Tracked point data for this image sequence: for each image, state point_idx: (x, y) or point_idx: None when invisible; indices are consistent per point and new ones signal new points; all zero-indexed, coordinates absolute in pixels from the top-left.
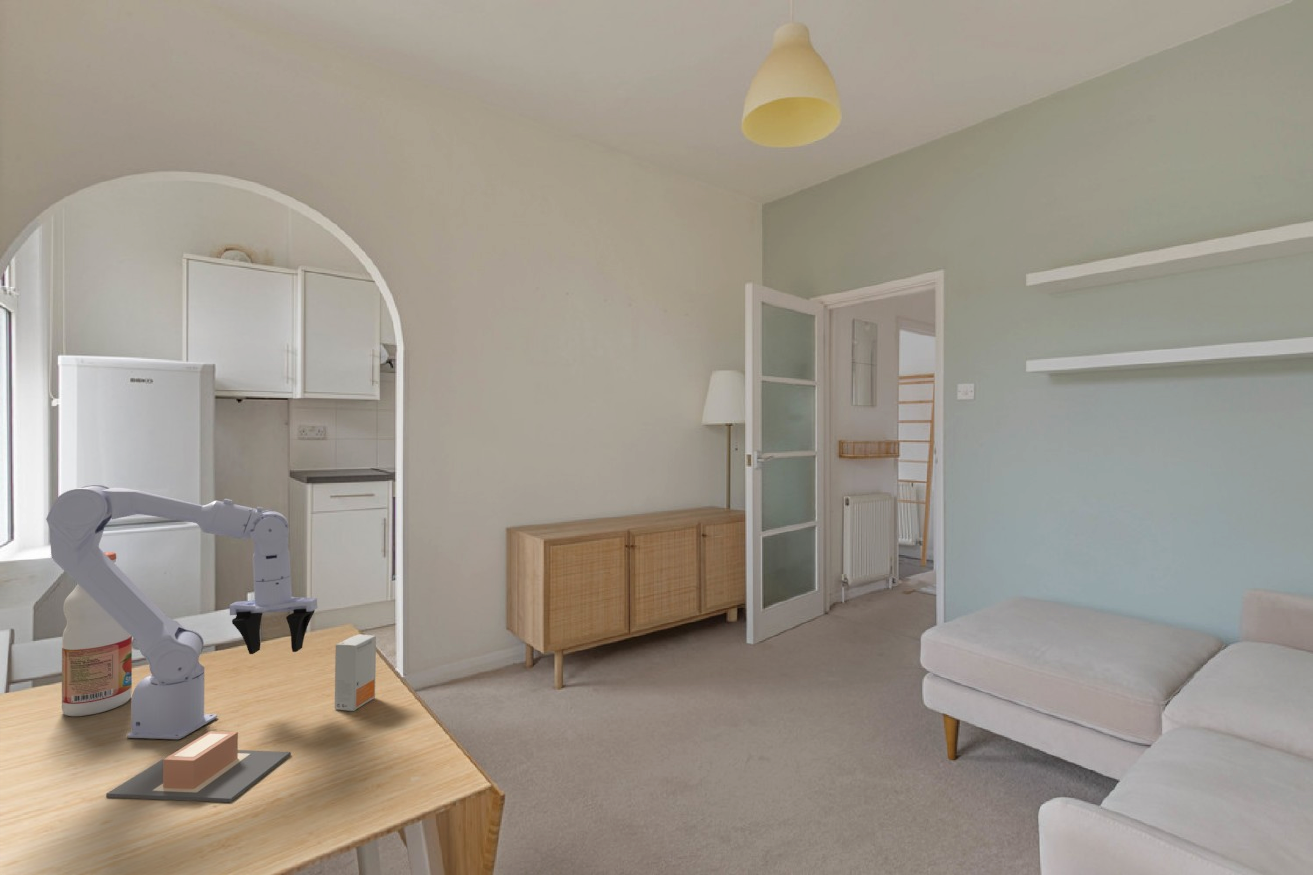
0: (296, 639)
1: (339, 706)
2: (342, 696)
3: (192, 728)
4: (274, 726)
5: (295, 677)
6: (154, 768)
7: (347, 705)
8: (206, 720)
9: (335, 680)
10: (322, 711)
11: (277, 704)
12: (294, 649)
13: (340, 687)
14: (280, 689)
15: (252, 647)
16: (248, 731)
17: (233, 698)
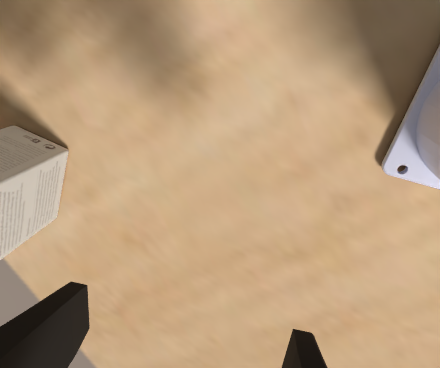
0: (4, 324)
1: (49, 144)
2: (18, 150)
3: (434, 78)
4: (181, 70)
5: (259, 361)
6: None
7: (20, 134)
8: (405, 133)
9: (3, 177)
10: (96, 145)
11: (237, 218)
12: (67, 289)
13: (3, 162)
14: (268, 306)
15: (296, 361)
16: (244, 48)
17: (378, 287)
